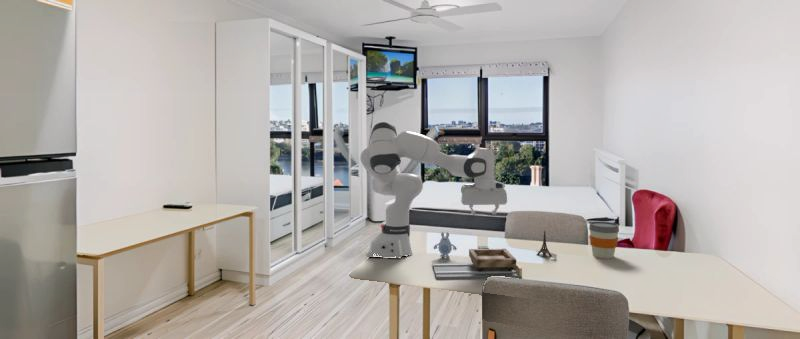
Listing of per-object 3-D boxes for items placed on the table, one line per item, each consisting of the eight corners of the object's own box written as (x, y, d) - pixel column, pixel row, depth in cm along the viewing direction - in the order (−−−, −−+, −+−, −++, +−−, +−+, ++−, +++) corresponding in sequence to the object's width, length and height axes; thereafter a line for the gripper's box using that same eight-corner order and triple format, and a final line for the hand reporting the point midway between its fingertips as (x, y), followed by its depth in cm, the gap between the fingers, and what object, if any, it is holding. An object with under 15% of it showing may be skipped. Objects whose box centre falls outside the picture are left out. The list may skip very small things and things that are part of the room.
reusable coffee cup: (611, 252, 206) (612, 221, 205) (622, 260, 194) (623, 227, 192) (584, 251, 207) (585, 221, 206) (593, 259, 195) (594, 227, 194)
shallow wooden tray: (476, 273, 171) (476, 260, 171) (469, 261, 187) (469, 249, 187) (516, 272, 172) (516, 259, 171) (505, 261, 188) (505, 248, 187)
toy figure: (432, 259, 197) (432, 233, 196) (434, 255, 203) (434, 230, 202) (455, 260, 195) (456, 234, 194) (457, 256, 201) (457, 231, 200)
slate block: (479, 261, 193) (480, 248, 193) (478, 258, 197) (478, 246, 197) (488, 261, 194) (488, 248, 193) (486, 258, 198) (486, 245, 197)
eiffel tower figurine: (556, 262, 192) (557, 233, 191) (532, 260, 196) (533, 231, 195) (557, 253, 206) (557, 226, 205) (534, 251, 210) (535, 225, 209)
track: (436, 279, 170) (436, 269, 170) (432, 265, 188) (432, 256, 188) (521, 278, 171) (522, 268, 170) (509, 264, 189) (509, 255, 188)
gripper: (462, 185, 189) (462, 216, 190) (508, 184, 190) (507, 215, 191) (459, 183, 195) (459, 213, 197) (504, 182, 196) (504, 212, 197)
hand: (483, 214), depth 194 cm, fingers open, 8 cm apart
